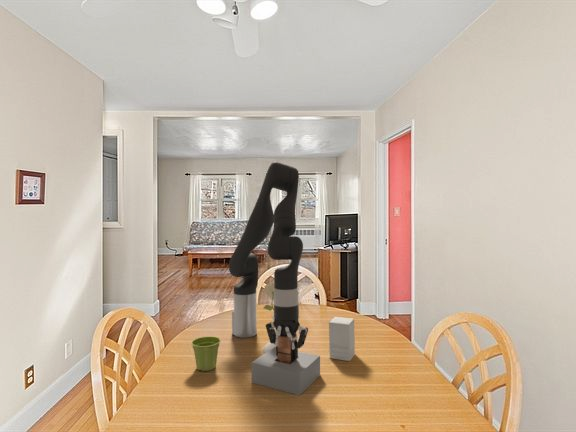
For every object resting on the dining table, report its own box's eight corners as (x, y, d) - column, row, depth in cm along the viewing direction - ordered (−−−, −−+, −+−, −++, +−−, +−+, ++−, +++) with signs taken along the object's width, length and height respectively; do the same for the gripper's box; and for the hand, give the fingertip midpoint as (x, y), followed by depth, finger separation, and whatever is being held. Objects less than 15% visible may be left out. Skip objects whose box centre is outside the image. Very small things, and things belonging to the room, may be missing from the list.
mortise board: (251, 382, 108) (251, 362, 108) (275, 364, 120) (275, 346, 120) (299, 395, 100) (299, 373, 100) (320, 374, 113) (320, 355, 113)
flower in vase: (301, 354, 129) (301, 283, 129) (279, 364, 121) (278, 289, 120) (275, 345, 138) (274, 279, 137) (252, 354, 129) (252, 283, 129)
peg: (277, 369, 109) (277, 336, 109) (284, 364, 113) (283, 332, 113) (289, 372, 107) (289, 338, 107) (296, 366, 111) (296, 334, 111)
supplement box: (355, 353, 129) (355, 318, 129) (349, 361, 122) (349, 324, 122) (335, 350, 132) (335, 316, 132) (328, 358, 125) (328, 321, 125)
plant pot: (189, 364, 121) (189, 338, 121) (217, 359, 125) (217, 334, 125) (193, 376, 113) (193, 348, 112) (224, 370, 116) (223, 343, 116)
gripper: (312, 302, 110) (313, 358, 110) (272, 297, 117) (272, 350, 117) (301, 308, 103) (302, 368, 104) (259, 302, 110) (260, 359, 110)
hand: (286, 358), depth 110 cm, fingers closed on peg, 4 cm apart
